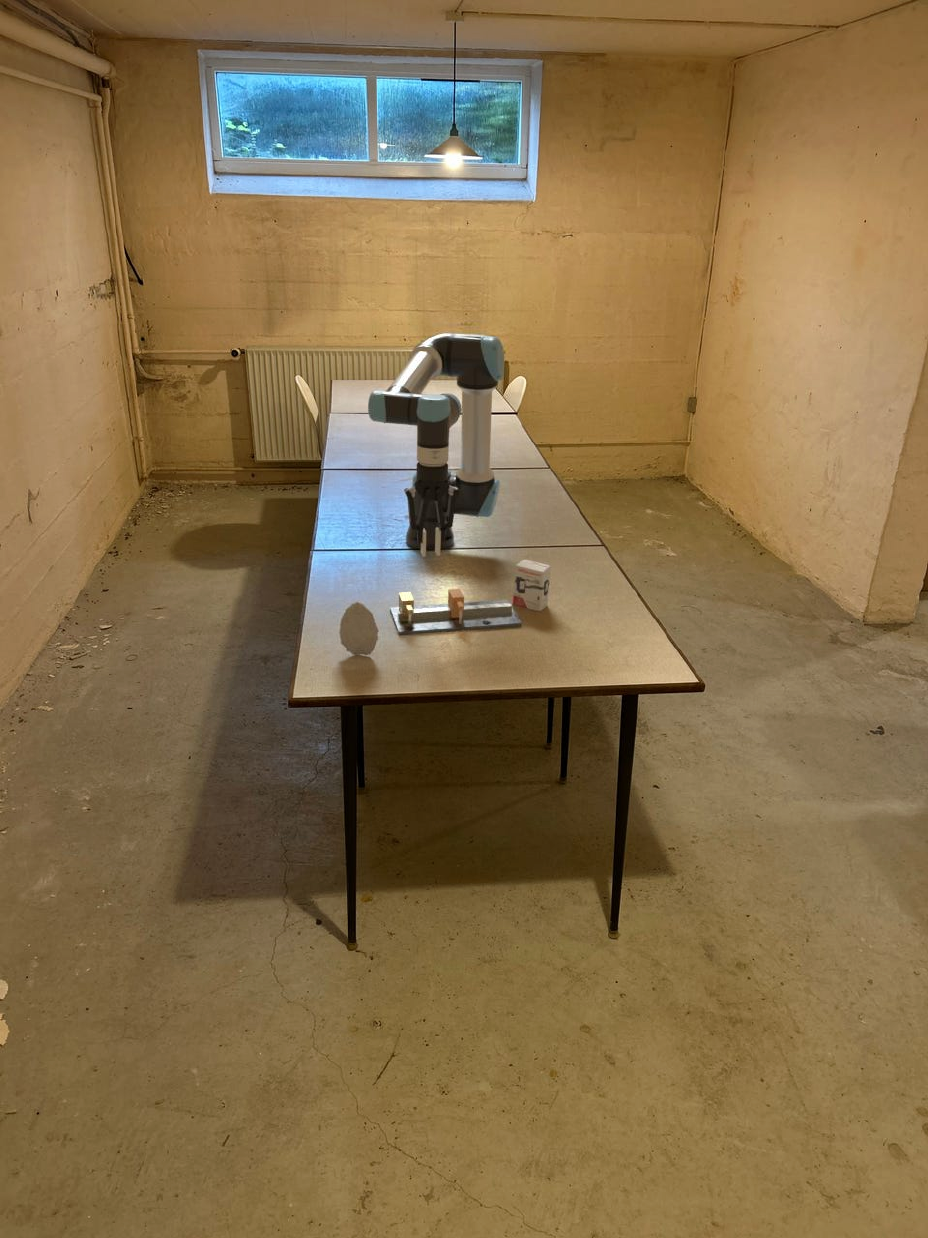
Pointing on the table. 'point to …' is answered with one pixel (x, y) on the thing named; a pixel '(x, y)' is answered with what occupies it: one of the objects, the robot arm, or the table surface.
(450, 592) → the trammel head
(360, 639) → the stone tool
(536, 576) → the ink box
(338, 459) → the table surface
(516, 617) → the hole plate
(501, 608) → the rail
